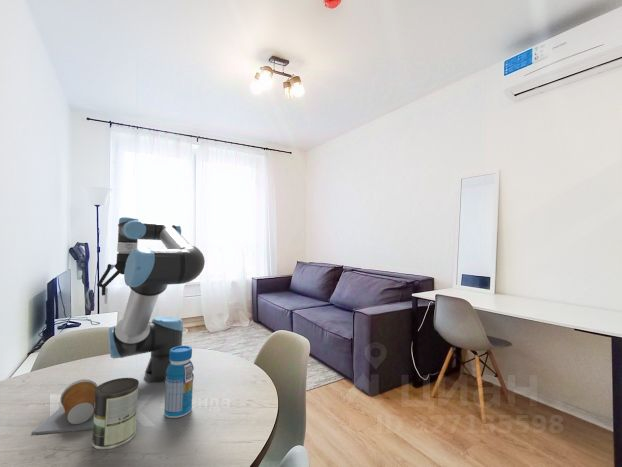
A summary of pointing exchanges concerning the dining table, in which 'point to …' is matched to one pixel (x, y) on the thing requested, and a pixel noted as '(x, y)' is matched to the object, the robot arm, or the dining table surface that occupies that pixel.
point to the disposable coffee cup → (79, 401)
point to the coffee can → (115, 413)
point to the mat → (62, 424)
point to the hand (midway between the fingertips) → (124, 301)
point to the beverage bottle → (179, 382)
